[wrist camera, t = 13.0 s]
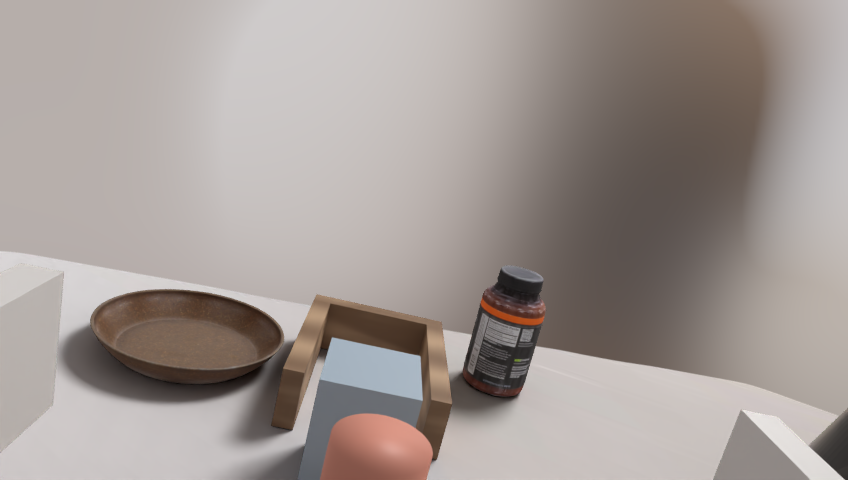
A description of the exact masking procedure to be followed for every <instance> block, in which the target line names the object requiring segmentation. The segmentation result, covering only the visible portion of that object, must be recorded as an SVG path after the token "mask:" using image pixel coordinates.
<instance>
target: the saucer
mask: <svg viewBox="0 0 848 480" xmlns="http://www.w3.org/2000/svg"><path fill="white" fill-rule="evenodd" d="M90 324H91V328H92V330H93V332H94V333H95V335H96V337H97V338H98V340H99V341H100V343H101V344H102V345H103V346H104V347H105V349H106V350H107V351H108V352H109V353H110V354H111V355H113V356H114V357H115V358H116V359H117V360H119V361H120V362H121V363H123V364H124V365H126V366H127V367H129V368H130V369H132V370H134V371H136V372H138V373H140V374H143V375H145V376H148V377H151V378H155V379H158V380H163V381H167V382H174V383H182V384H210V383H218V382H223V381H228V380H231V379H235V378H237V377H240V376H242V375H244V374H246V373H248V372H251V371H253V370H254V369H256V368H258V367H259V366H261V365H262V364H264V363H265V362H267V361H268V360H269V359H270V358H271V357H272V356H273V355H274V354H275V353H276V352H278V350H279V349H280V348H281V346H282V344H283V342H284V334H283V331H282V329H281V327H280V325H279V324H278V323H277V322H276V321H275V320H274V319H273V318H272V317H271V316H269V315H268V314H266V313H265V312H263V311H261V310H260V309H258V308H256V307H254V306H251V305H249V304H247V303H244V302H241V301H238V300H235V299H232V298H228V297H225V296H221V295H216V294H212V293H206V292H198V291H190V290H176V289H159V290H145V291H137V292H132V293H127V294H124V295H120V296H117V297H114V298H112V299H109V300H107V301H106V302H104V303H102V304H101V305H99V306H98V307H97V308H96V309H95V311H94V312H93V314H92V316H91V319H90Z"/></svg>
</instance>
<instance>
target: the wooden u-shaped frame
mask: <svg viewBox="0 0 848 480" xmlns="http://www.w3.org/2000/svg"><path fill="white" fill-rule="evenodd" d="M332 337H333V338H338V339H342V340H347V341H352V342H356V343H361V344H366V345H370V346H375V347H380V348H385V349H389V350H394V351H399V352H403V353H408V354H413V355H417V356H420V358H421V377H422V396H423V402H422V405H421V409H420V413H419V417H418V420H417V424H416V429H417V430H418V431H420V432H421V433H422V434H423V435H424V436H425V437H426V438H427V440H428V441H429V443H430V444H431V447H432V451H433V457H432V459H437V457H438V453H439V450H440V446H441V443H442V439H443V435H444V432H445V428H446V425H447V421H448V418H449V414H450V410H451V407H452V398H451V391H450V383H449V375H448V367H447V360H446V352H445V344H444V337H443V329H442V323H441V322H439V321H434V320H430V319H426V318H421V317H416V316H412V315H408V314H403V313H398V312H394V311H390V310H385V309H381V308H376V307H372V306H367V305H363V304H358V303H353V302H349V301H344V300H340V299H335V298H331V297H326V296H321V295H316V297H315V299H314V301H313V304H312V306H311V308H310V310H309V312H308V315H307V317H306V319H305V321H304V323H303V326H302V328H301V330H300V332H299V334H298V337H297V339H296V341H295V343H294V345H293V348H292V350H291V352H290V354H289V356H288V358H287V361H286V363H285V365H284V367H283V371H282V376H281V381H280V385H279V390H278V395H277V400H276V405H275V410H274V415H273V420H272V424H271V426H275V427H280V428H285V429H290V430H293V427H294V424H295V421H296V418H297V415H298V412H299V409H300V406H301V404H302V401H303V398H304V395H305V392H306V389H307V386H308V383H309V380H310V378H311V375H312V372H313V369H314V366H315V363H316V360H317V357H318V354H319V352H320V349H321V348H323V349H327V350H328V349H329V346H330V343H331V339H332Z"/></svg>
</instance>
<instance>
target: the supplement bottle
mask: <svg viewBox="0 0 848 480" xmlns="http://www.w3.org/2000/svg"><path fill="white" fill-rule="evenodd" d="M542 284H543V278H542V277H541V276H540V275H539V274H537V273H535V272H533V271H530V270H528V269H524V268H521V267H516V266H503V267H502V268H501V270H500V273H499V276H498V282H497V283H496V284H495V285H493V286H491V287H489V288H487V289H486V290H485V291H484V293H483V297H482V300H481V303H480V308H479V311H478V315H477V319H476V322H475V326H474V329H473V333H472V337H471V341H470V344H469V348H468V352H467V355H466V359H465V362H464V368H463V376H464V378H465V379H466V380H467V381H468V383H469V384H471V385H472V386H473V387H475V388H476V389H478V390H480V391H482V392H485V393H487V394H490V395H493V396H503V397H508V396H514V395H517V394H518V393H520V392H521V390H522V388H523V385H524V383H525V379H526V376H527V373H528V370H529V366H530V363H531V359H532V356H533V353H534V349H535V346H536V343H537V339H538V336H539V333H540V329H541V326H542V322H543V319H544V315H545V305H544V302H543V301H542V300H541V299H540V295H539V293H540V292H541V288H542Z"/></svg>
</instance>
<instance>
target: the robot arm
mask: <svg viewBox="0 0 848 480" xmlns="http://www.w3.org/2000/svg"><path fill="white" fill-rule="evenodd" d="M63 279H64V272H62V271H57V270H52V269H47V268H42V267H37V266H32V265H27V264H22V263H20V264H18V265H16V266H14V267H12V268H10V269H8V270H6V271H3V272H1V273H0V453H1V452H2V451H3V450H4V449H5V448H6V447H7V446H8V445H10V444H11V443H12V442H13V441H14V440H15V439H16V438H17V437H18V436H19V435H21V434H22V433H23V432H24V431H25V430H26V429H27V428H28V427H29V426H30V425H32V424H33V423H34V422H35V421H36V420H37V419H38V418H39V417H40V416H41V415H43V414H44V413H45V412H46V411H47V410H48V409H49V408H50V407H51V406H52V405H53V398H54V386H55V374H56V362H57V351H58V339H59V327H60V315H61V303H62V291H63ZM713 480H848V408H847V409H846V410H845V411H844V412H843V413H842V414H841V415H840V416H839V417H838V418H837V419H836V420H835V421H834V422H833V423H832V424H831V425H830V426H828V427H827V428H826V429H825V430H824V431H823V432H822V433H821V434H820V435H819V436H818V437H817V438H816V439H815V440H814V441H813V442H812V443H811V444H810V445H809V446H808V445H807V444H806V443H805V442H804V441H803V440H802V439H801V438H799V437H798V436H797V435H796V434H795V433H794V432H793V431H792V430H791V429H790V428H789V427H788V426H787V425H785V424H784V423H783V422H782V421H781V420H780V419H779V418H778V417H776V416H771V415H766V414H761V413H756V412H751V411H746V410H741V411H740V413H739V416H738V418H737V421H736V423H735V426H734V428H733V431H732V433H731V436H730V438H729V441H728V443H727V446H726V449H725V451H724V454H723V456H722V459H721V461H720V464H719V466H718V469H717V471H716V474H715V476H714V479H713Z"/></svg>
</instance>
